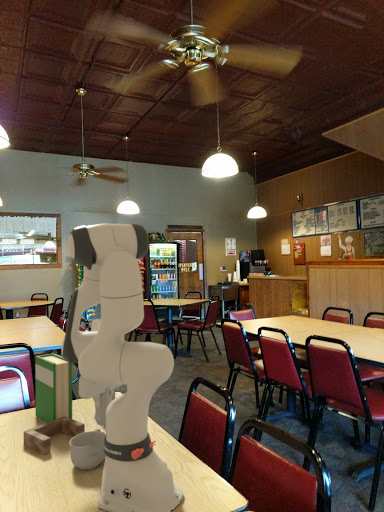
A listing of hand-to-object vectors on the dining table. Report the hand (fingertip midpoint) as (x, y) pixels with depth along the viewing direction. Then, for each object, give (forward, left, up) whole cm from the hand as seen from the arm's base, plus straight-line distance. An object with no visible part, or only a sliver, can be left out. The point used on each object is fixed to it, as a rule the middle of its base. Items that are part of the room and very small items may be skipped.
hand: (103, 404), depth 130 cm
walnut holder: (+13, +11, -12) cm, 20 cm away
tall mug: (+18, -14, -12) cm, 26 cm away
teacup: (-9, +13, -12) cm, 20 cm away
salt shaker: (0, 0, -6) cm, 6 cm away
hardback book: (+30, 0, -12) cm, 32 cm away
